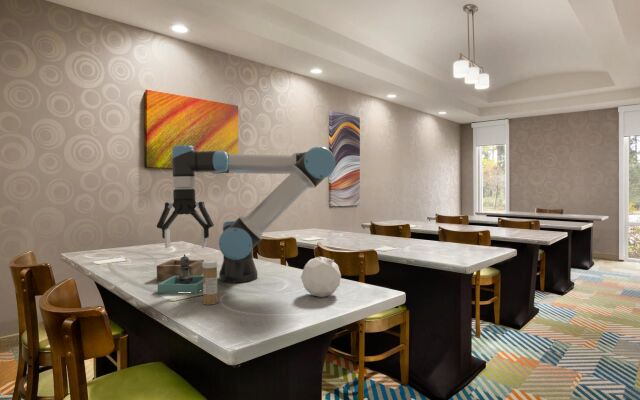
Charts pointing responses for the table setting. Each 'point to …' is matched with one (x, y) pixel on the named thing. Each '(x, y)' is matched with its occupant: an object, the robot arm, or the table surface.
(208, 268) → the sprinkles bottle
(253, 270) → the robot arm
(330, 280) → the geodesic sphere
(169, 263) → the wooden crate
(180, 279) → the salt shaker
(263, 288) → the table surface
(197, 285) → the tray
